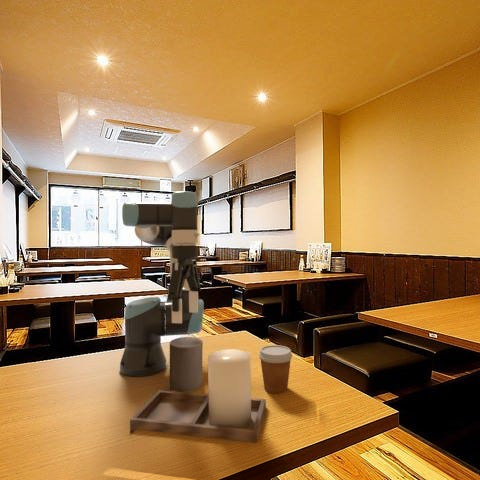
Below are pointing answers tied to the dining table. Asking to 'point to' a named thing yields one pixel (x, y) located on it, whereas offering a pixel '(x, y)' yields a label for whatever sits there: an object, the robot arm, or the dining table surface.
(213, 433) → the candle tray
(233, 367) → the ivory candle
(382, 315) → the dining table surface
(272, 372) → the disposable coffee cup
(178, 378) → the pillar candle
